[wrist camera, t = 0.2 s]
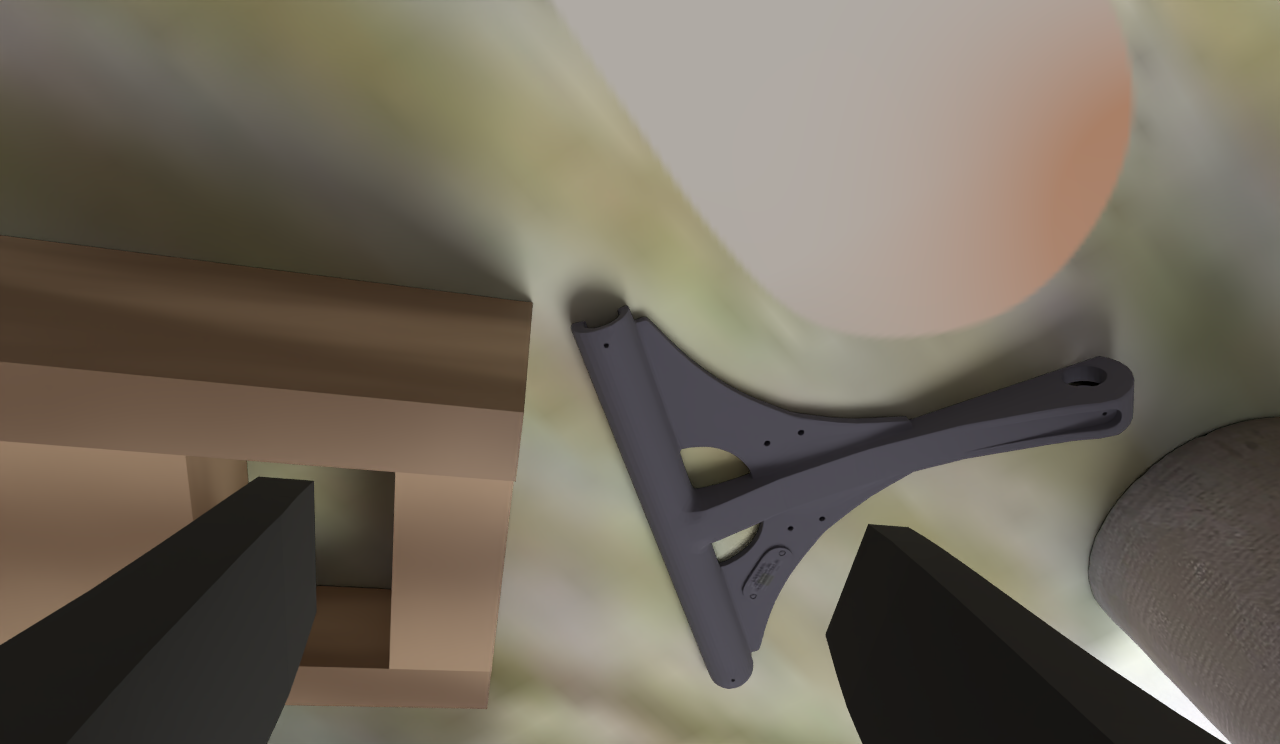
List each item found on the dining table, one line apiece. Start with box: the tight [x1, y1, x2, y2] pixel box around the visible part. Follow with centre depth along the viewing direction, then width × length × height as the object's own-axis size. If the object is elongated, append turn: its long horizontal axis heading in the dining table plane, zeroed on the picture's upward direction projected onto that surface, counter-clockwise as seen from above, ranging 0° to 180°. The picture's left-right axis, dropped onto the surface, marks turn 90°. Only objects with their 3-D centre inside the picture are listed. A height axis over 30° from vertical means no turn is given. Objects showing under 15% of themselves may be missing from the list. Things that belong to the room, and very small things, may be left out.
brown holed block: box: [0, 235, 533, 709], centre depth 15 cm, size 12×20×6 cm, turn 80°
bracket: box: [571, 305, 1134, 689], centre depth 20 cm, size 14×15×3 cm
